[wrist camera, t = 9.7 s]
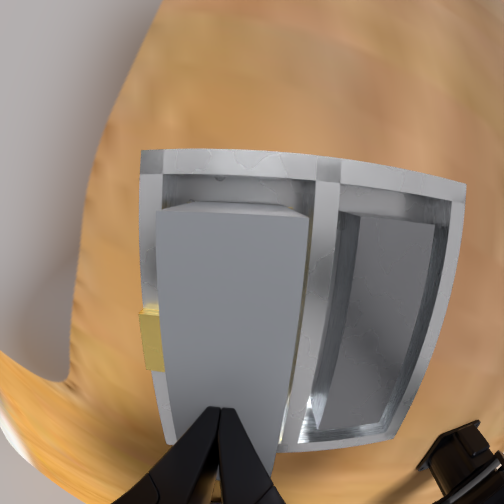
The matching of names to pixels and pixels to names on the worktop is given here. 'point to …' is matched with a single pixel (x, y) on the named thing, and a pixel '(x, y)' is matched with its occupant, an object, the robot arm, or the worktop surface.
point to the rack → (328, 280)
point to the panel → (230, 311)
